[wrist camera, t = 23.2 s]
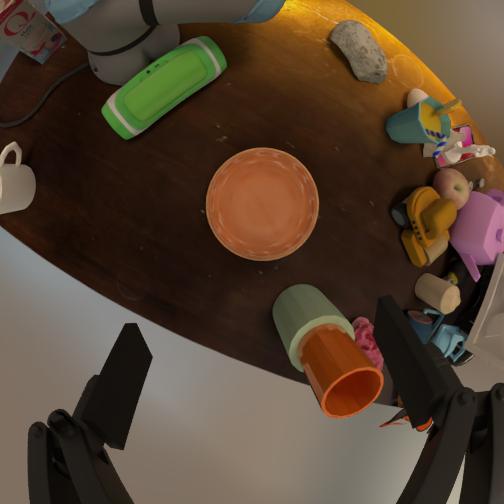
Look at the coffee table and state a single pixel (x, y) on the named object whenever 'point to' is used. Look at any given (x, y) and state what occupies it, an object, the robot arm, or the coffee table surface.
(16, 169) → the mug
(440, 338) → the phone stand
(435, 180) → the apple
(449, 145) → the arrowhead
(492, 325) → the decorative block
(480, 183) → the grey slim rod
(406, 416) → the fish
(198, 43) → the speaker
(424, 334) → the soda can
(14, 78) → the coffee table surface
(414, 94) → the egg
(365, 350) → the flower
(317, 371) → the orange cup
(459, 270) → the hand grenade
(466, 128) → the smartphone
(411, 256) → the toy roller
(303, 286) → the green jar
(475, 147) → the figurine
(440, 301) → the candle
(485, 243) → the teapot
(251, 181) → the saucer
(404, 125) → the cup
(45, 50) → the juice carton
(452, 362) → the running shoe
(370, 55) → the decorative stone
